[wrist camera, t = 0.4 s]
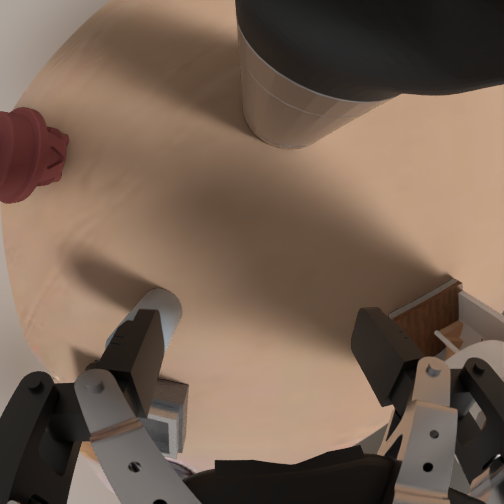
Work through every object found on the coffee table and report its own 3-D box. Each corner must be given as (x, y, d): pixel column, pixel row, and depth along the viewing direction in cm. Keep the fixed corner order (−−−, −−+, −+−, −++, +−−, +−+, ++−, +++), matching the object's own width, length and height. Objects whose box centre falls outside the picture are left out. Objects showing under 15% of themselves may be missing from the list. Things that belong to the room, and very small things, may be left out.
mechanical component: (75, 202, 27) (24, 191, 26) (92, 119, 25) (38, 117, 24) (2, 217, 15) (-43, 201, 14) (23, 97, 13) (-27, 105, 12)
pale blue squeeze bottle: (142, 284, 30) (92, 337, 18) (183, 292, 30) (151, 353, 18) (141, 322, 31) (99, 383, 19) (180, 331, 31) (152, 399, 19)
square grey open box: (92, 359, 32) (74, 383, 26) (188, 385, 33) (180, 416, 27) (103, 412, 35) (90, 435, 29) (185, 435, 36) (180, 462, 30)
